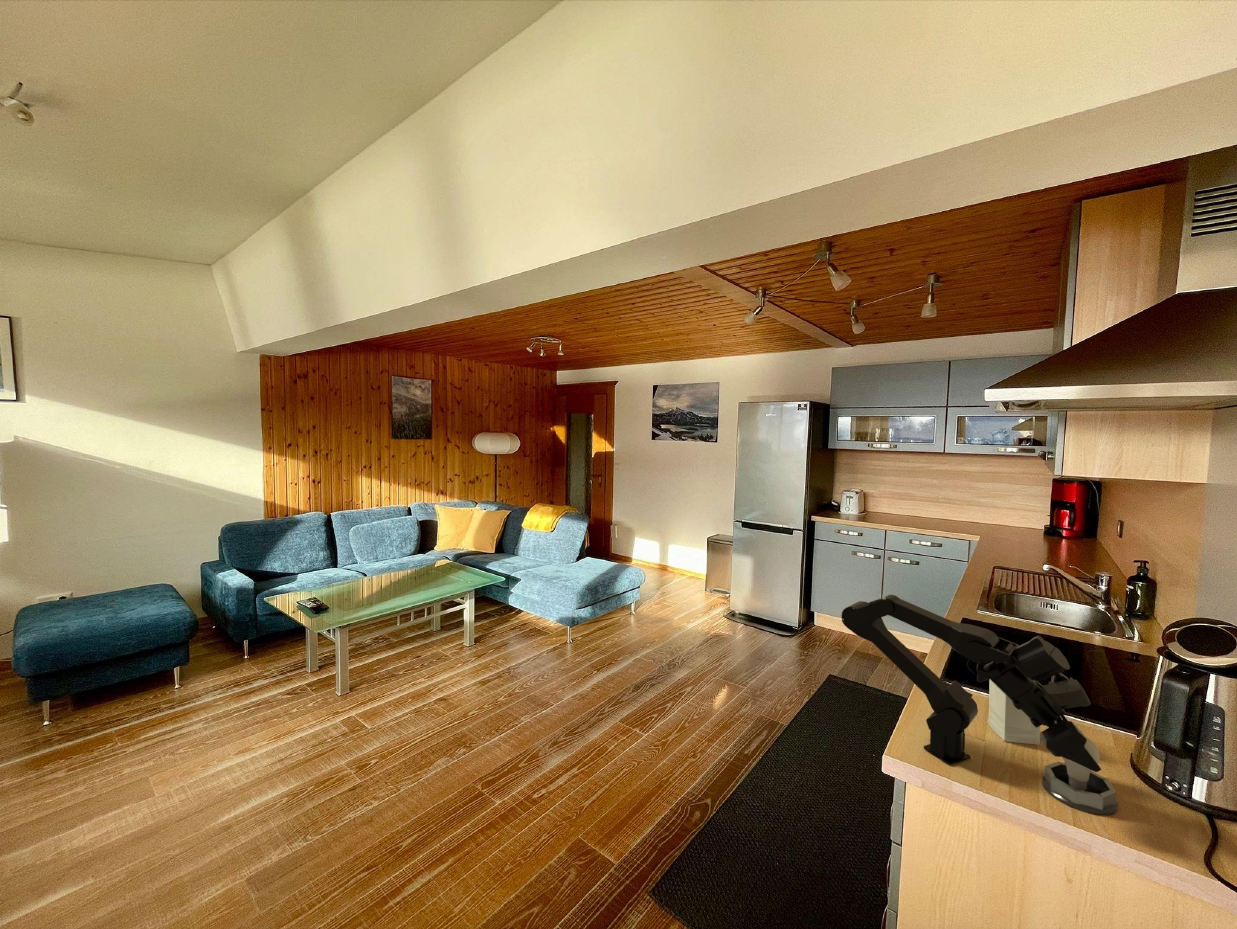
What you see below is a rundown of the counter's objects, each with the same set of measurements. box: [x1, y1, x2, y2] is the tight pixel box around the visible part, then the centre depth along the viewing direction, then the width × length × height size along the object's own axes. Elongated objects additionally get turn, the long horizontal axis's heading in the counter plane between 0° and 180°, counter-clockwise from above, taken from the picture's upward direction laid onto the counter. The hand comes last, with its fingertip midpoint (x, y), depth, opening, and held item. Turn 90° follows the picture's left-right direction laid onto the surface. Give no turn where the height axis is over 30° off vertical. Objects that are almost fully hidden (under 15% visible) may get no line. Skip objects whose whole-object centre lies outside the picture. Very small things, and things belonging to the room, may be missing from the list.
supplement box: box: [988, 679, 1041, 746], centre depth 119 cm, size 7×7×13 cm
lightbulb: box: [1061, 736, 1101, 791], centre depth 99 cm, size 6×6×11 cm
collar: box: [1041, 761, 1119, 816], centre depth 99 cm, size 11×11×3 cm
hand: (1089, 756), depth 98 cm, fingers open, 9 cm apart
